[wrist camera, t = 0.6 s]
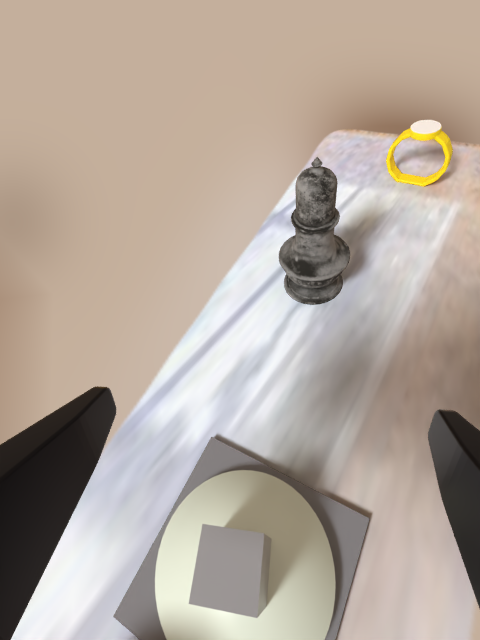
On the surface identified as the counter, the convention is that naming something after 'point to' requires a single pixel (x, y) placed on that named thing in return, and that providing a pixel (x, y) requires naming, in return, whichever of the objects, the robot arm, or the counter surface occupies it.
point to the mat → (335, 517)
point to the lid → (245, 564)
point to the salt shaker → (314, 240)
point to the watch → (423, 132)
